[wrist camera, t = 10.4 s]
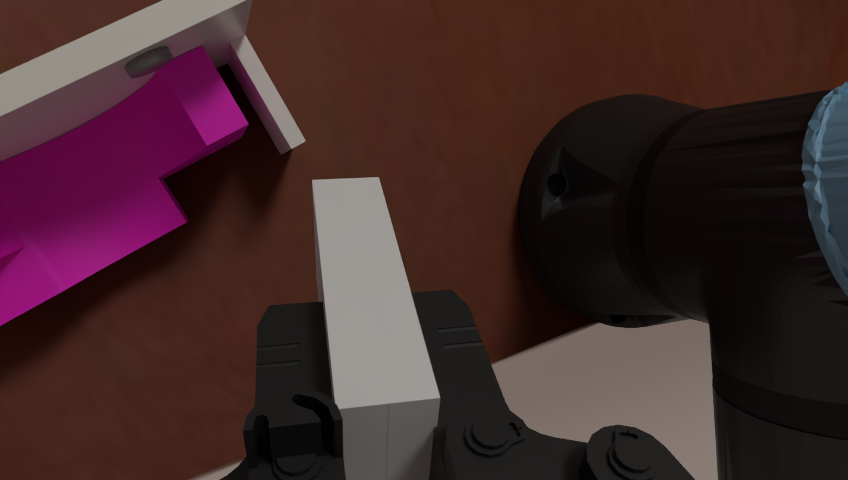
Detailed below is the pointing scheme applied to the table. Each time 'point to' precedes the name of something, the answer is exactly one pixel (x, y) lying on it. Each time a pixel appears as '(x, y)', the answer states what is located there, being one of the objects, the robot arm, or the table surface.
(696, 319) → the robot arm
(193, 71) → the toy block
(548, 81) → the table surface
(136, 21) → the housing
